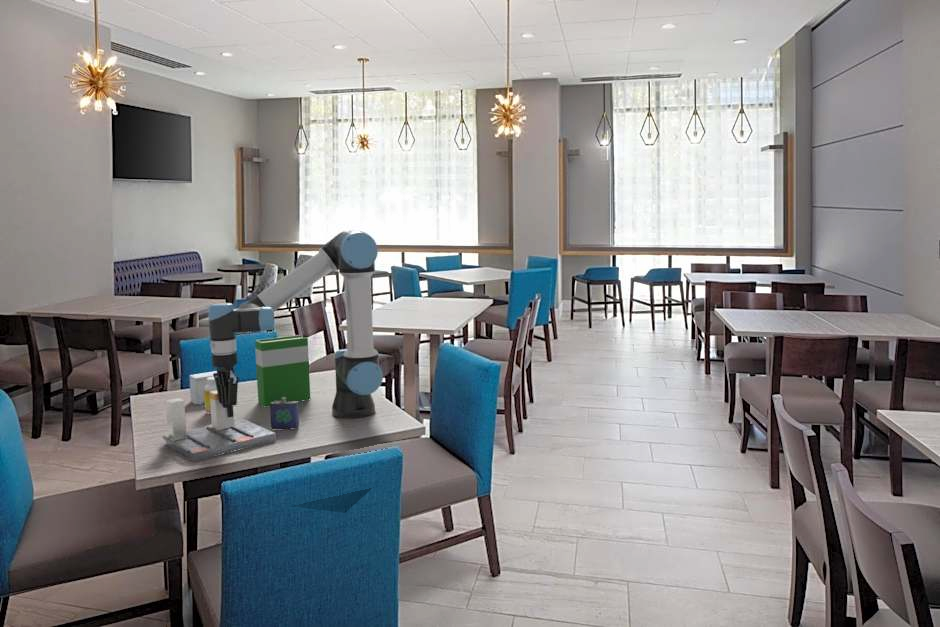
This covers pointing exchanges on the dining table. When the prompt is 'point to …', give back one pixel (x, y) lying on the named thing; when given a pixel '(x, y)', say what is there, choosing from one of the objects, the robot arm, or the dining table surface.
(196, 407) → the dining table surface
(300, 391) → the hardback book
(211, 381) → the supplement bottle
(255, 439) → the grey slotted tray
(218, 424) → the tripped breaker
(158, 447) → the dining table surface
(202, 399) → the skincare box
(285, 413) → the flask
